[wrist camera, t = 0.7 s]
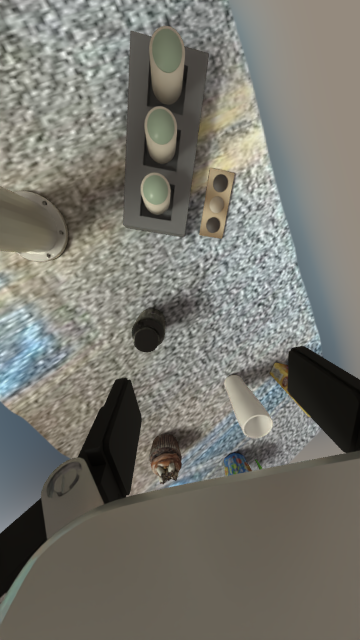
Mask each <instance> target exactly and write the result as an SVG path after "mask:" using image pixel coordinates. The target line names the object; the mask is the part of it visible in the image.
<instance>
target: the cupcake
mask: <svg viewBox="0 0 360 640" xmlns="http://www.w3.org/2000/svg"><path fill="white" fill-rule="evenodd" d="M181 458H182V456H181V453H180V450H179V446H178V442H177V440H176V438H175V437H174V436H173V435H170V434H162V435H159V436H157V437H156V438H155V439H154V440H153V444H152V448H151V452H150V455H149V461H150V462H149V463H150V464H151V468H152V471H153V472H154V473H155V474H156V475H158V476H159V477H160V478H159V481H160V484H161V483H162V484H164V483H165V482H166V481H167V480H168V481H169V480H170V479H172V480H175V481H176V480H177V477H178V472H179V470H180V469H181V465H182V463H181Z"/></svg>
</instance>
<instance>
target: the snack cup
mask: <svg viewBox="0 0 360 640" xmlns="http://www.w3.org/2000/svg"><path fill="white" fill-rule="evenodd" d="M255 461H256V462H257V465H258V467H259V470H260V469H262V467H261V466H260V464H259V463H258V461H257V460H256V459H255ZM224 469H225V475H226V476H229V475H234V474H239V473H244V472H250V471H252V470H251V468H250V467H249V465H248V463H247V461H246V459H245V458H244V456H243V455H241V454H238V453H233V454H230V455H229V456H227V457H226V458H225V460H224Z"/></svg>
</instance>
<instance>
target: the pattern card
mask: <svg viewBox="0 0 360 640" xmlns="http://www.w3.org/2000/svg"><path fill="white" fill-rule="evenodd" d="M234 174H235V173H231V172H227V171H222V170H218V169H213V168H210V170H209V177H208V183H207V189H206V196H205V202H204V209H203V215H202V221H201V228H200V234H199V235H202V236H208V237H214V238H220V239H222V236H223V231H224V225H225V220H226V215H227V210H228V205H229V200H230V194H231V189H232V184H233V179H234Z"/></svg>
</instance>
